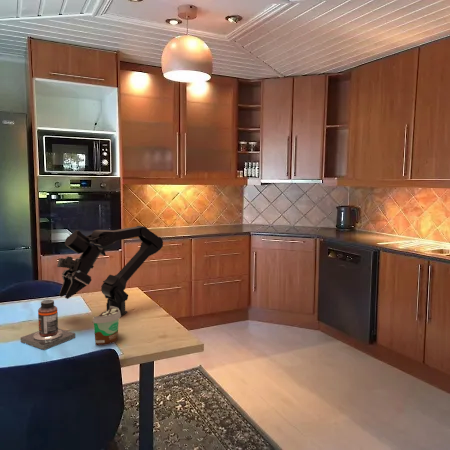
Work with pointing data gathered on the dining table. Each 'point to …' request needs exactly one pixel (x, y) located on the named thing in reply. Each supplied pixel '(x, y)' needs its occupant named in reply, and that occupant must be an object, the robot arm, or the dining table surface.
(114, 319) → the food container
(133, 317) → the dining table surface
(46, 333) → the supplement bottle
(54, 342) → the plate
